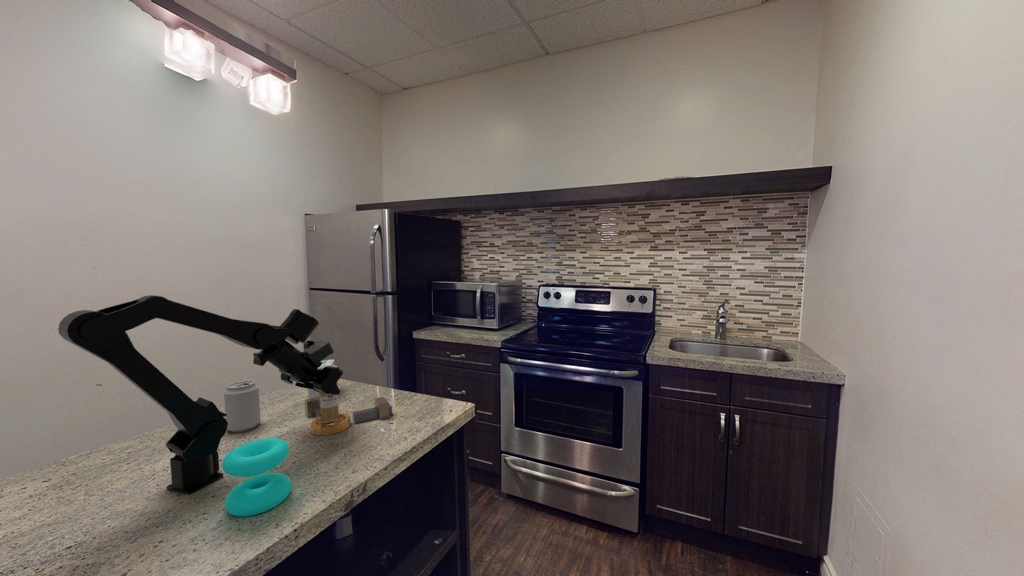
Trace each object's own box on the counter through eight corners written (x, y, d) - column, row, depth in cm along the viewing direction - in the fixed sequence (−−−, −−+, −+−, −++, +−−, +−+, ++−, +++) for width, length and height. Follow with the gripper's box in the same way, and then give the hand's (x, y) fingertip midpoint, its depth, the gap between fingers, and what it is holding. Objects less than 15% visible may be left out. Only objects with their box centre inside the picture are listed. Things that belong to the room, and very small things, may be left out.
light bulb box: (314, 392, 128) (312, 360, 127) (336, 389, 130) (334, 358, 129) (307, 403, 117) (305, 369, 117) (331, 400, 119) (329, 366, 119)
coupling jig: (354, 440, 92) (353, 422, 91) (275, 428, 99) (273, 412, 99) (396, 413, 108) (395, 397, 108) (325, 404, 115) (324, 390, 115)
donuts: (211, 452, 66) (272, 430, 75) (215, 507, 67) (276, 479, 75) (236, 468, 61) (299, 443, 69) (240, 528, 61) (302, 495, 70)
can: (267, 421, 104) (264, 378, 103) (245, 434, 96) (242, 387, 95) (242, 421, 104) (239, 378, 104) (218, 433, 97) (215, 387, 96)
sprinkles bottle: (325, 422, 96) (322, 370, 95) (317, 418, 98) (314, 367, 98) (342, 417, 99) (340, 366, 98) (334, 413, 102) (332, 364, 101)
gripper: (334, 334, 89) (374, 369, 99) (290, 329, 99) (331, 361, 109) (302, 376, 83) (348, 409, 93) (259, 365, 93) (305, 396, 103)
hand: (333, 391), depth 100 cm, fingers closed on sprinkles bottle, 4 cm apart
